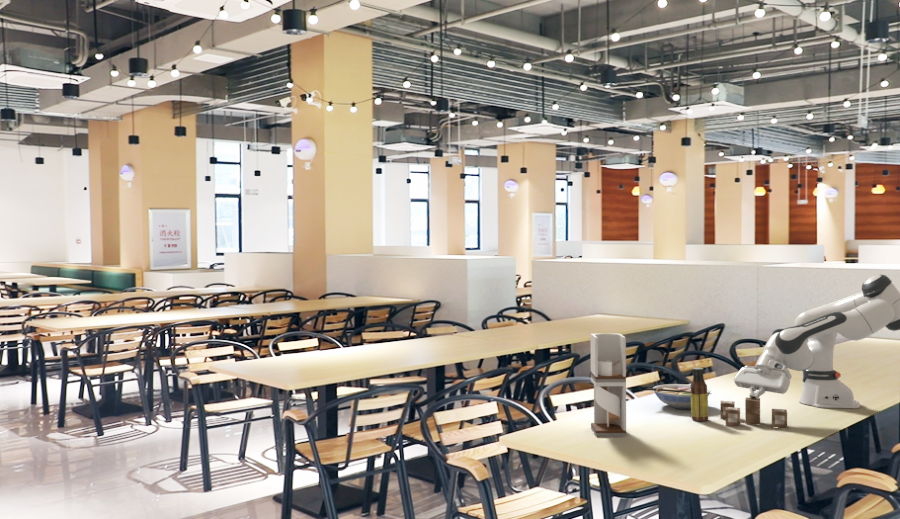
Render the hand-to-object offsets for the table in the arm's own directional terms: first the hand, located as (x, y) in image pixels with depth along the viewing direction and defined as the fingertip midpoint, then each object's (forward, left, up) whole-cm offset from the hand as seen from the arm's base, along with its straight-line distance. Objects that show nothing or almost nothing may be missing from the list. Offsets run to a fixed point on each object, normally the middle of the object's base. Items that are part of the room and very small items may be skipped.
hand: (753, 397), depth 291 cm
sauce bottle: (+19, +1, -10) cm, 22 cm away
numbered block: (-9, +3, -10) cm, 13 cm away
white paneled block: (+9, -6, -10) cm, 15 cm away
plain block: (0, 0, -10) cm, 10 cm away
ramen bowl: (+27, -20, -10) cm, 35 cm away
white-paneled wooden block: (+7, +5, -10) cm, 13 cm away
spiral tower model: (+49, +30, -10) cm, 58 cm away
